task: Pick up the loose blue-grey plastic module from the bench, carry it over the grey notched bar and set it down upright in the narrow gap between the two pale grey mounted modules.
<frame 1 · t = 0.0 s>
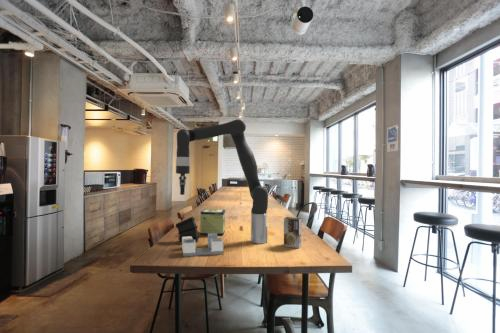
hand: (182, 193, 147), 29 cm above the table, fingers open, 8 cm apart
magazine: (186, 242, 155), on the table
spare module: (187, 248, 143), on the table
coffee box: (292, 246, 150), on the table
module: (212, 245, 148), on the table
grey notched bar: (203, 253, 135), on the table
protein box: (212, 233, 176), on the table
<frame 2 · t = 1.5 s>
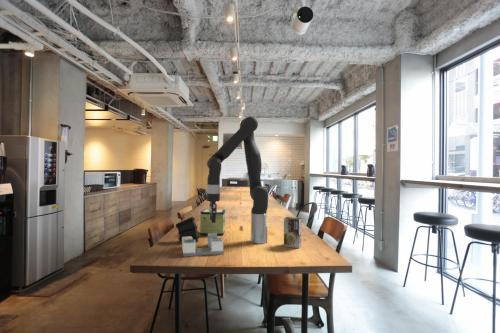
hand: (212, 221, 148), 14 cm above the table, fingers open, 8 cm apart
nothing on the table moved.
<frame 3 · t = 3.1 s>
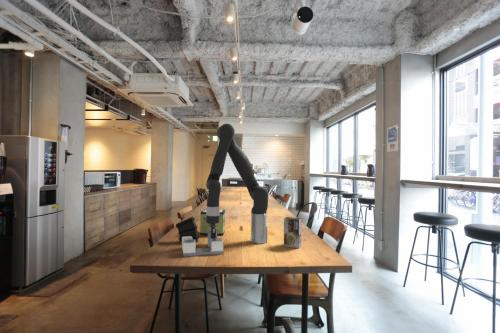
hand: (212, 244, 148), 1 cm above the table, fingers closed on module, 4 cm apart
module: (212, 245, 148), on the table, touching gripper
everything else where it was.
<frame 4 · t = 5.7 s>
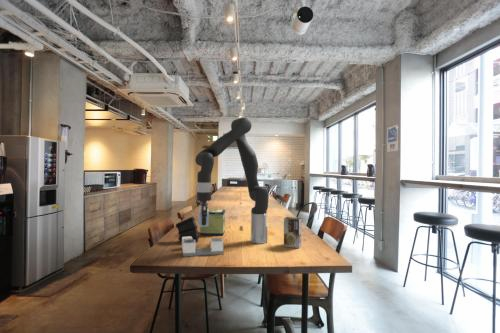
hand: (203, 223, 135), 15 cm above the table, fingers closed on module, 4 cm apart
module: (203, 225, 135), point 14 cm above the table, touching gripper
everything else where it was.
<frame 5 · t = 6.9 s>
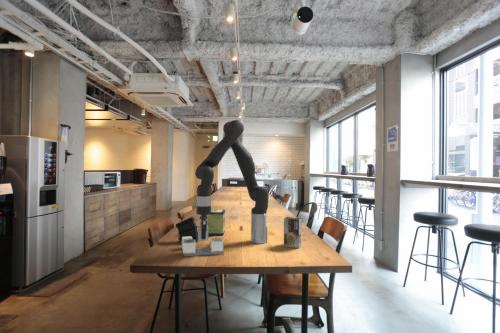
hand: (203, 237, 135), 8 cm above the table, fingers closed on module, 4 cm apart
module: (202, 239, 135), point 7 cm above the table, touching gripper
everything else where it was.
when the fingers open (4 cm above the table, at t = 8.1 s): module drops 1 cm, resting on grey notched bar.
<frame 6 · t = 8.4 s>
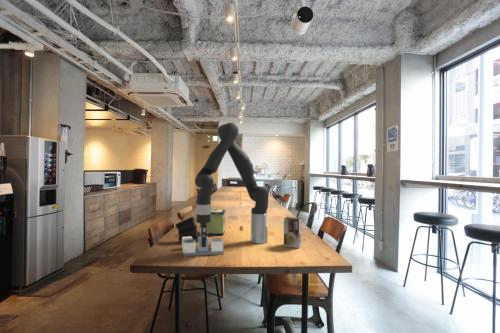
hand: (203, 244, 135), 4 cm above the table, fingers open, 7 cm apart
module: (203, 250, 135), point 1 cm above the table, touching grey notched bar
everything else where it was.
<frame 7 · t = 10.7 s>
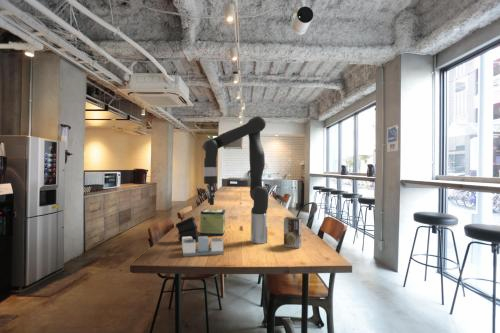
hand: (210, 204, 147), 24 cm above the table, fingers open, 8 cm apart
nothing on the table moved.
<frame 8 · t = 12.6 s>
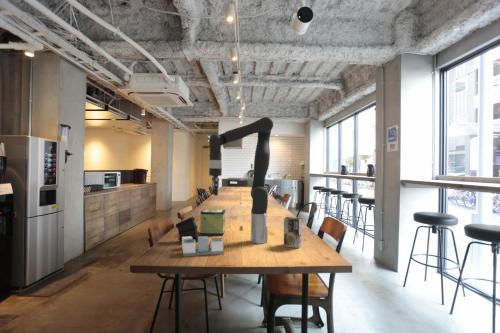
hand: (215, 194, 157), 28 cm above the table, fingers open, 8 cm apart
nothing on the table moved.
at the end: module 0.1 cm off-centre on the grey notched bar, point 1.5 cm above the grey notched bar's base; module tilted 0°; the gripper is holding nothing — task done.
